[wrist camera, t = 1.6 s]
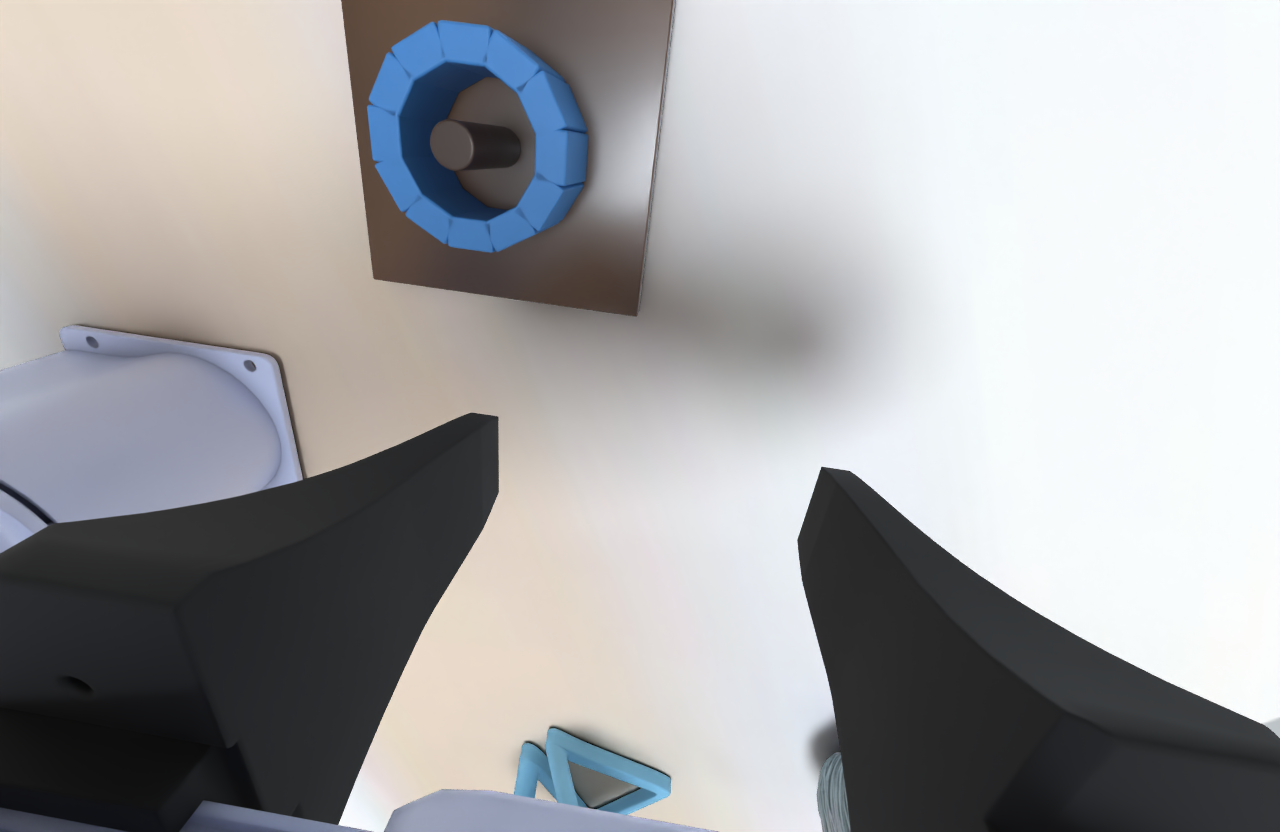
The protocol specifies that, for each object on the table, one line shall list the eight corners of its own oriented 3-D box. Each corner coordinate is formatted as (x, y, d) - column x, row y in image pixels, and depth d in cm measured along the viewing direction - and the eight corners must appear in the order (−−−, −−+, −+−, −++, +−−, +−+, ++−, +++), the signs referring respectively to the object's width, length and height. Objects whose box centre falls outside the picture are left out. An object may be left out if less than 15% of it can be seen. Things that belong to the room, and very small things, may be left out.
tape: (426, 225, 18) (379, 237, 16) (413, 33, 16) (355, 8, 13) (581, 247, 18) (561, 263, 16) (593, 55, 16) (572, 35, 13)
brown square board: (384, 274, 20) (300, 307, 16) (348, -60, 16) (218, -139, 11) (639, 311, 20) (622, 354, 16) (678, -20, 15) (670, -88, 11)
